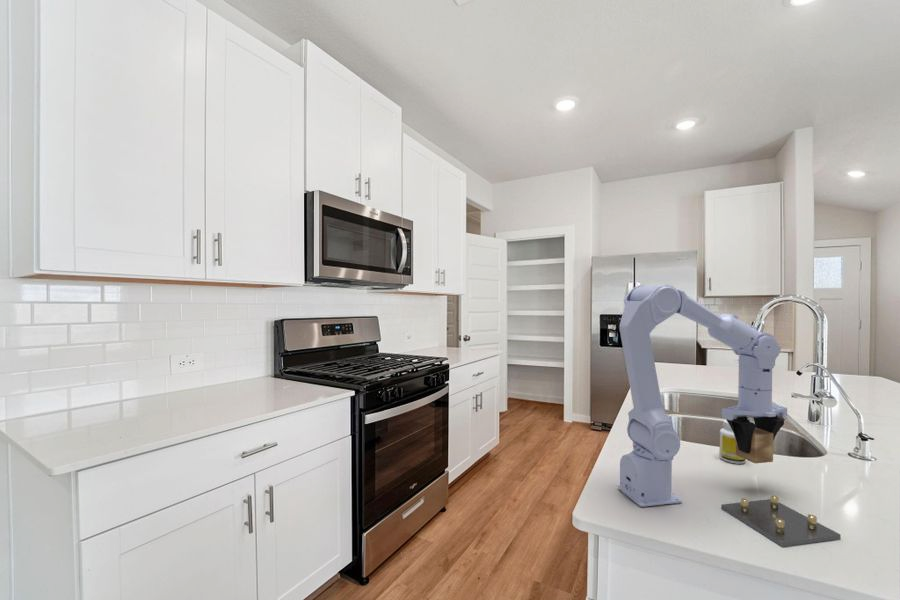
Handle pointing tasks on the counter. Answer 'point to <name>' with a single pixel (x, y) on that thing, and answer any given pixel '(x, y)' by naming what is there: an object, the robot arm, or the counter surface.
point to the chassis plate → (780, 522)
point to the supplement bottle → (728, 445)
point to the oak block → (759, 447)
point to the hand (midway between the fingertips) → (754, 450)
